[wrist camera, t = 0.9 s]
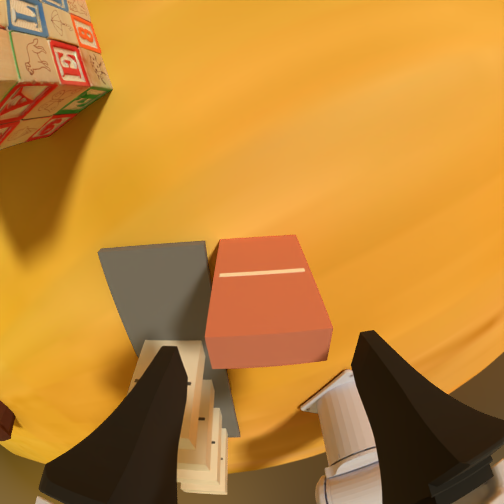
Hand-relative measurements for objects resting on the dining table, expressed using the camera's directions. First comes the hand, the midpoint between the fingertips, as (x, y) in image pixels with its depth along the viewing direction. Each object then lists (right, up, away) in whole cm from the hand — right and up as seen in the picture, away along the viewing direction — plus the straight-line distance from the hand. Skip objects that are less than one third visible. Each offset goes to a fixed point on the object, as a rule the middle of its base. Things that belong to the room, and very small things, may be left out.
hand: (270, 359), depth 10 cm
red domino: (0, +4, +8) cm, 10 cm away
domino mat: (-7, -8, +14) cm, 18 cm away
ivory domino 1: (-7, -4, +12) cm, 14 cm away
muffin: (-62, -33, +26) cm, 74 cm away
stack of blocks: (-16, +22, -1) cm, 27 cm away
